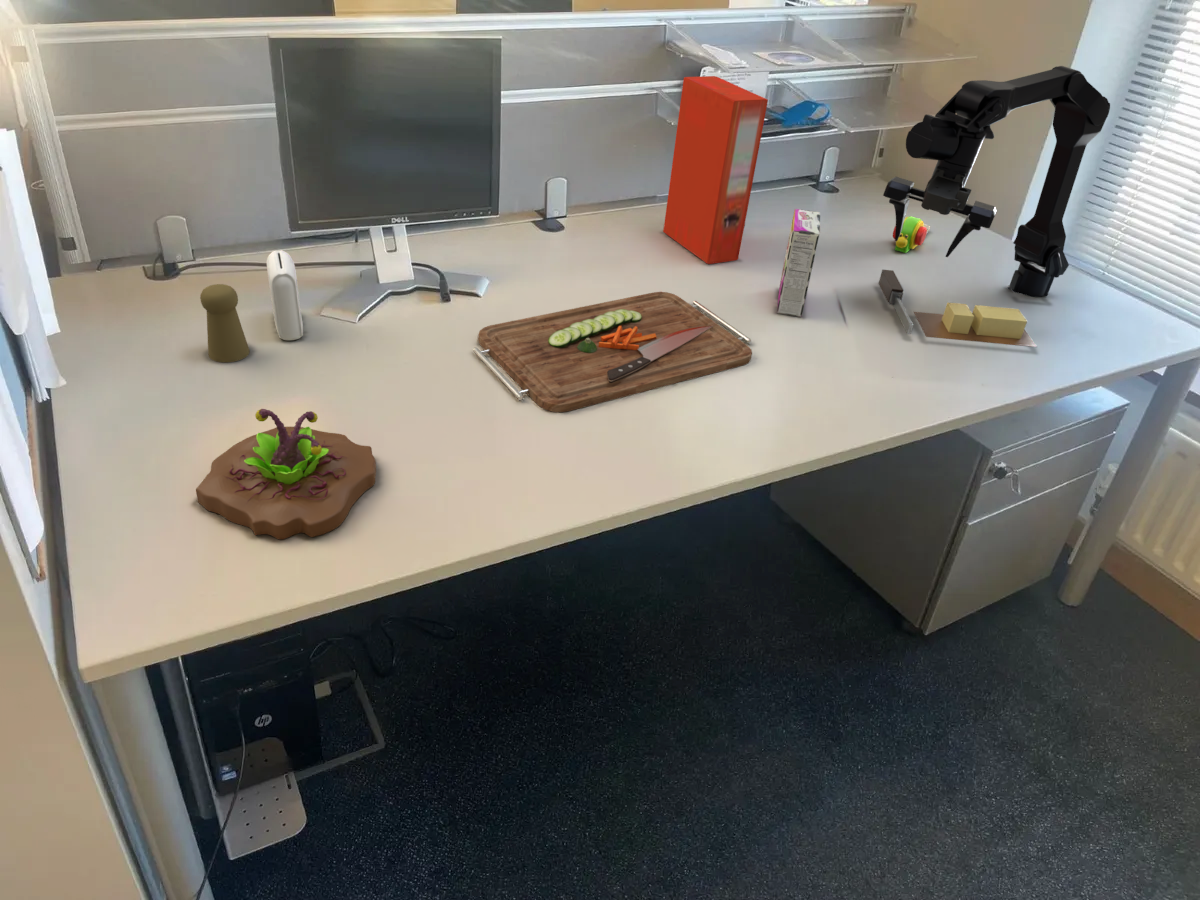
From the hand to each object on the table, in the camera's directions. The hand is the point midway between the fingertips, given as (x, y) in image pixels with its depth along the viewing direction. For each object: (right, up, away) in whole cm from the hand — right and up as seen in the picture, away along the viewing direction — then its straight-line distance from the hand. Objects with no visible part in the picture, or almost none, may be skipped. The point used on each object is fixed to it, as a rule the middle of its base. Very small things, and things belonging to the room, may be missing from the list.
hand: (921, 248), depth 162 cm
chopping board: (-55, -19, -11) cm, 59 cm away
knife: (-2, -10, +9) cm, 14 cm away
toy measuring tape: (+12, +10, +40) cm, 43 cm away
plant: (-97, -41, -47) cm, 115 cm away
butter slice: (+7, -14, +3) cm, 16 cm away
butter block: (+15, -14, +3) cm, 21 cm away
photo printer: (-109, -16, -13) cm, 111 cm away
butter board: (+11, -15, +4) cm, 19 cm away
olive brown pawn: (-115, -21, -21) cm, 119 cm away
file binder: (-37, +7, +29) cm, 47 cm away
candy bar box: (-22, -9, +9) cm, 25 cm away
